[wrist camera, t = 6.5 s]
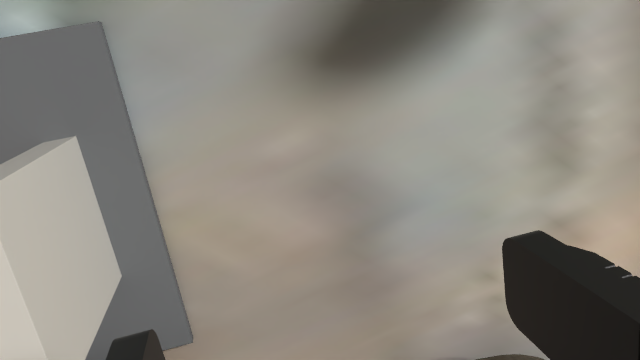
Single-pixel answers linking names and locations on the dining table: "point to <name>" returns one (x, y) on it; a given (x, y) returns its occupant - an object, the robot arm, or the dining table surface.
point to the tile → (52, 255)
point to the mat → (95, 167)
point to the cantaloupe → (511, 357)
